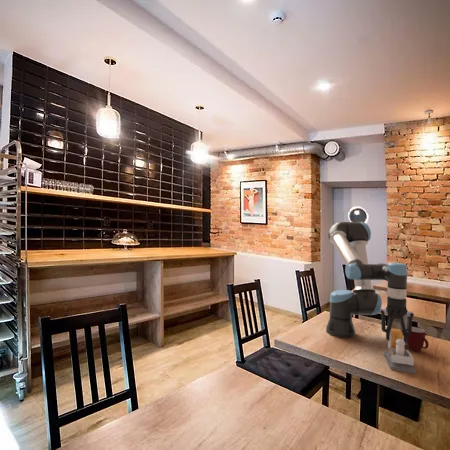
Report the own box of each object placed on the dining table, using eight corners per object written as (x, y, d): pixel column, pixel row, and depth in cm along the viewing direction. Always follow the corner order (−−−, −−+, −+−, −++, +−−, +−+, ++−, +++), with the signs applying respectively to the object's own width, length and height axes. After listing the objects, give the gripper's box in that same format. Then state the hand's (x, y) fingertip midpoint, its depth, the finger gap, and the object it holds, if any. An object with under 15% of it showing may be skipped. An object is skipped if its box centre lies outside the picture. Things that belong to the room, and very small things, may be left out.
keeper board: (383, 354, 136) (383, 329, 136) (405, 357, 133) (405, 332, 133) (390, 369, 122) (391, 342, 122) (415, 373, 119) (416, 345, 119)
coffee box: (386, 338, 155) (386, 308, 155) (396, 337, 157) (397, 307, 157) (400, 345, 146) (400, 313, 146) (410, 344, 148) (411, 313, 148)
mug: (434, 354, 137) (434, 333, 137) (423, 357, 134) (424, 335, 134) (411, 345, 147) (412, 325, 147) (401, 348, 143) (401, 327, 143)
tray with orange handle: (385, 348, 135) (385, 327, 135) (404, 351, 133) (405, 329, 133) (391, 362, 123) (392, 338, 122) (413, 365, 120) (414, 341, 120)
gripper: (377, 297, 131) (376, 348, 131) (421, 301, 126) (420, 354, 126) (374, 293, 138) (373, 342, 138) (416, 296, 133) (415, 347, 133)
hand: (395, 348), depth 132 cm, fingers open, 4 cm apart
